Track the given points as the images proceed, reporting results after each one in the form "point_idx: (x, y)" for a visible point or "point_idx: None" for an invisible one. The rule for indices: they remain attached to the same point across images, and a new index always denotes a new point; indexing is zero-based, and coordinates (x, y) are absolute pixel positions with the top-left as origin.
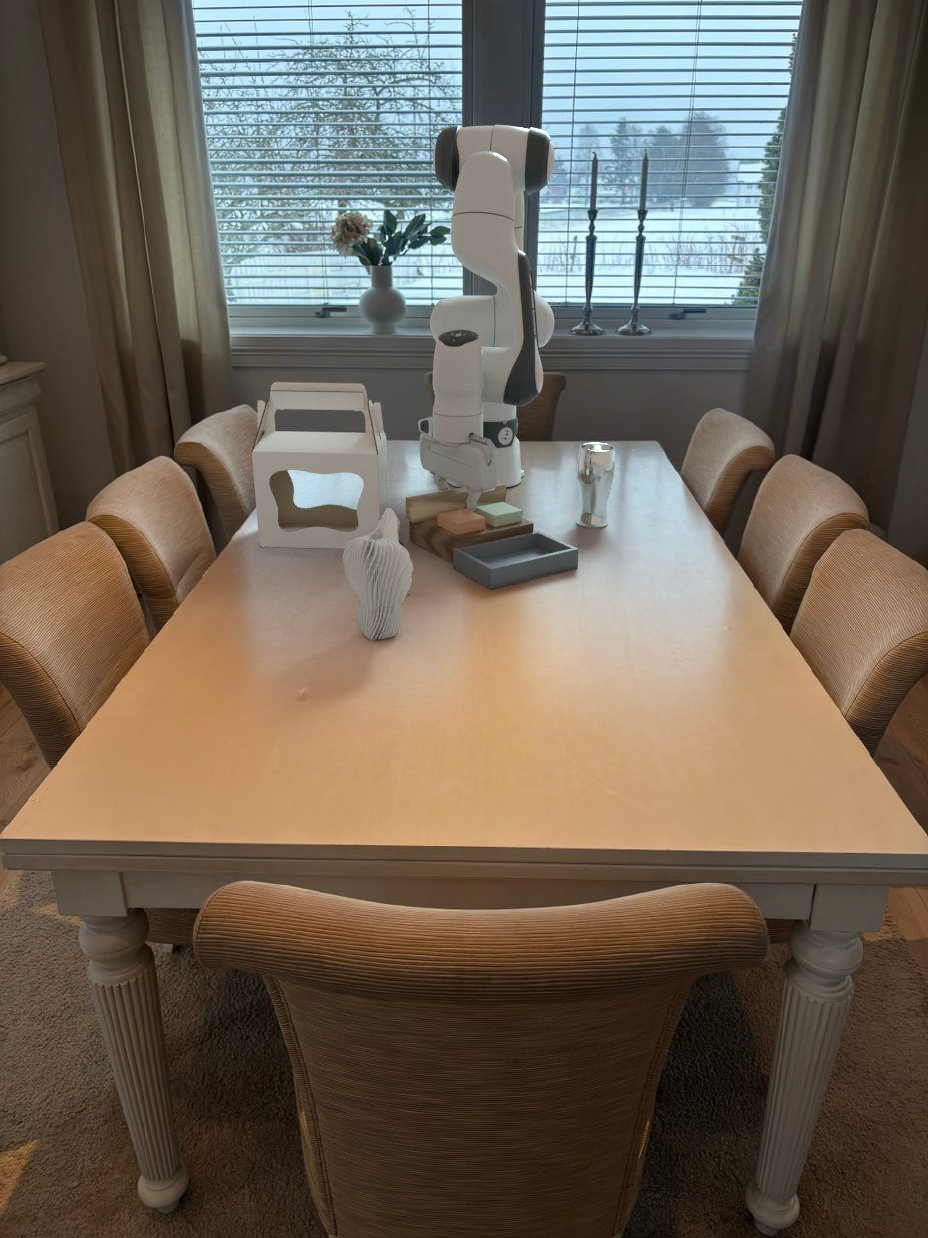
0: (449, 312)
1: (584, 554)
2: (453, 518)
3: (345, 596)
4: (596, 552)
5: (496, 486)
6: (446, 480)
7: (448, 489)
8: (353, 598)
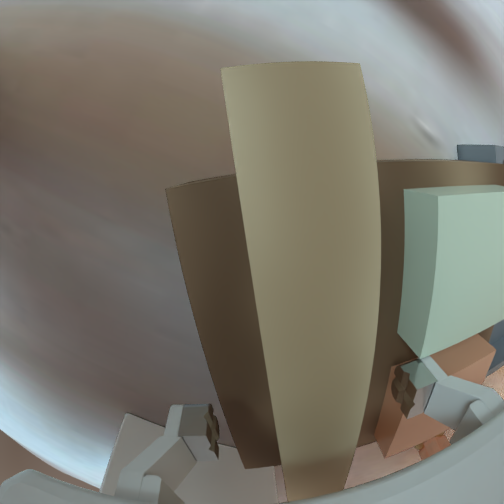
0: None
1: (492, 83)
2: (439, 427)
3: (395, 470)
4: (486, 56)
5: (374, 176)
6: (155, 466)
7: (204, 442)
8: (405, 464)
